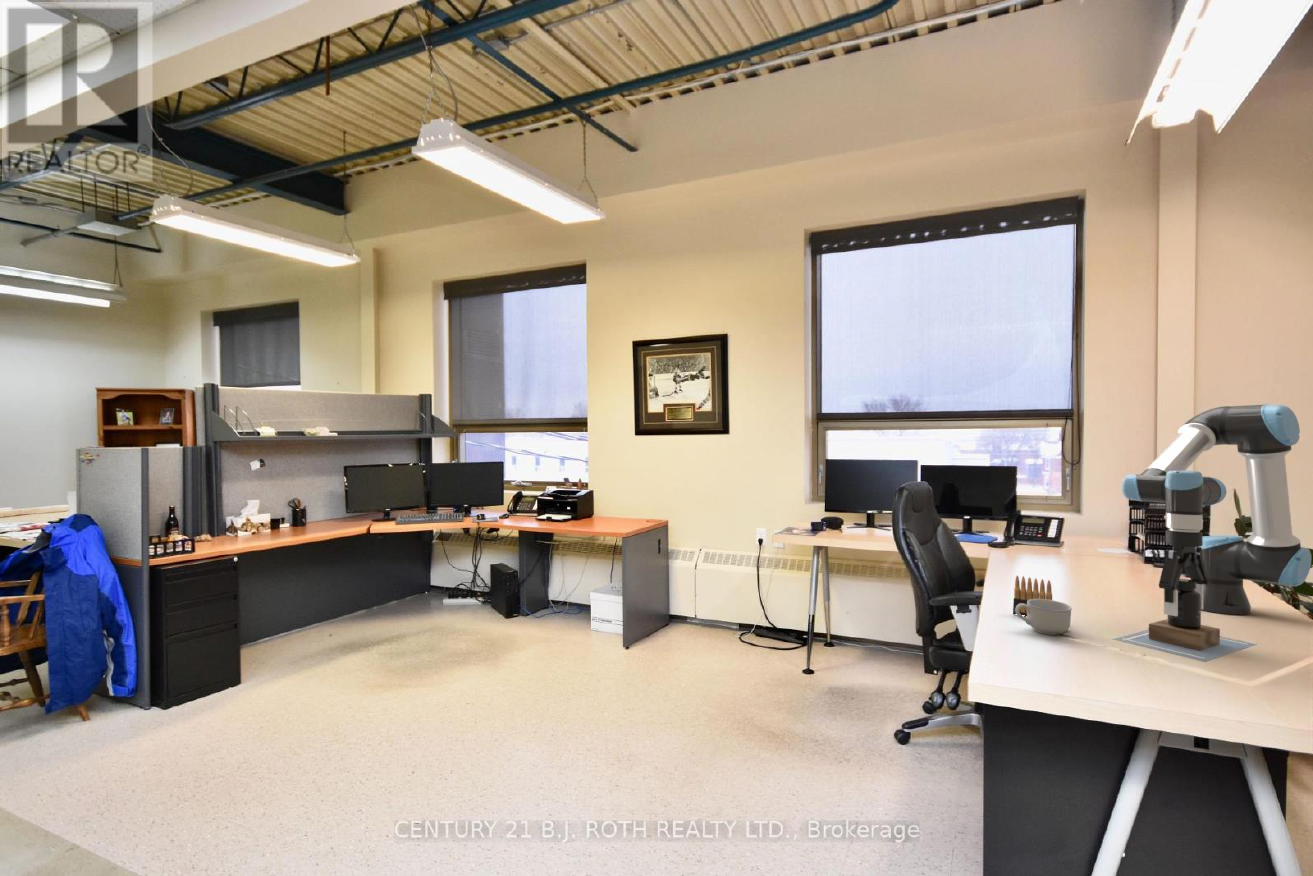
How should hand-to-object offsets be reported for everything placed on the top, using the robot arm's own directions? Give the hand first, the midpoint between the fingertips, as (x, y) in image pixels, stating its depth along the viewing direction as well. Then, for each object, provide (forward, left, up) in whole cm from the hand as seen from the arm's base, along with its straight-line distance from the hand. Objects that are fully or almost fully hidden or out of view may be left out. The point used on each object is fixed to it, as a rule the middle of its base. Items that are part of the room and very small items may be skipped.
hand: (1183, 611), depth 170 cm
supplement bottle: (0, 0, -4) cm, 4 cm away
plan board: (0, 0, -9) cm, 9 cm away
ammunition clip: (+8, -35, -9) cm, 37 cm away
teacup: (+20, -25, -9) cm, 33 cm away
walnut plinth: (0, 0, -8) cm, 8 cm away
